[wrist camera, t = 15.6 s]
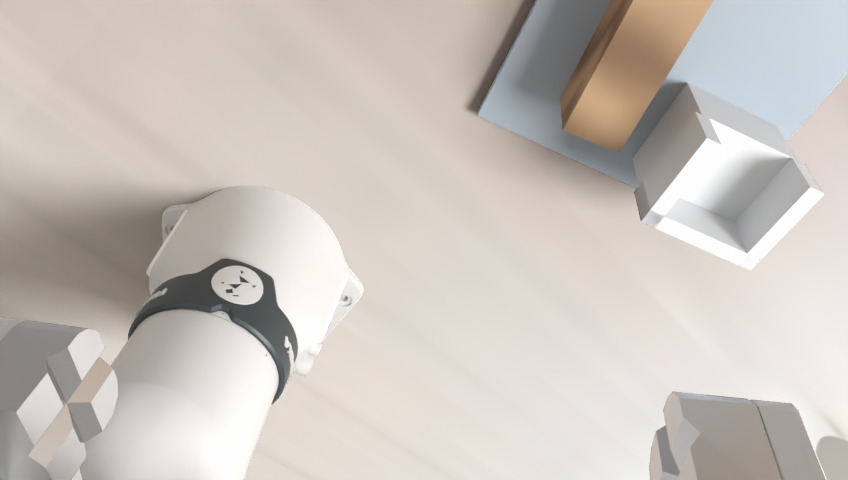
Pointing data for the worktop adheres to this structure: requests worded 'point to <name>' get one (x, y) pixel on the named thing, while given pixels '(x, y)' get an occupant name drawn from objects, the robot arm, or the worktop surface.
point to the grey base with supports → (694, 115)
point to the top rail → (626, 67)
